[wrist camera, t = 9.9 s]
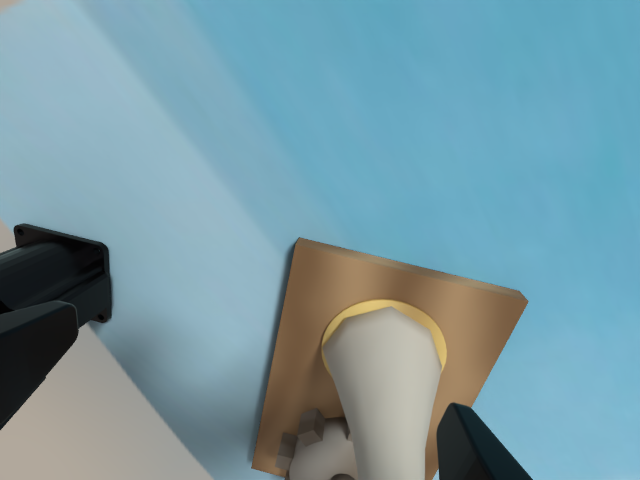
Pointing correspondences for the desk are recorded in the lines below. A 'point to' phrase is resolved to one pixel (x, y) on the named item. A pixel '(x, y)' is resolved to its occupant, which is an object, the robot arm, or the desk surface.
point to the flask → (385, 390)
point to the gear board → (353, 299)
